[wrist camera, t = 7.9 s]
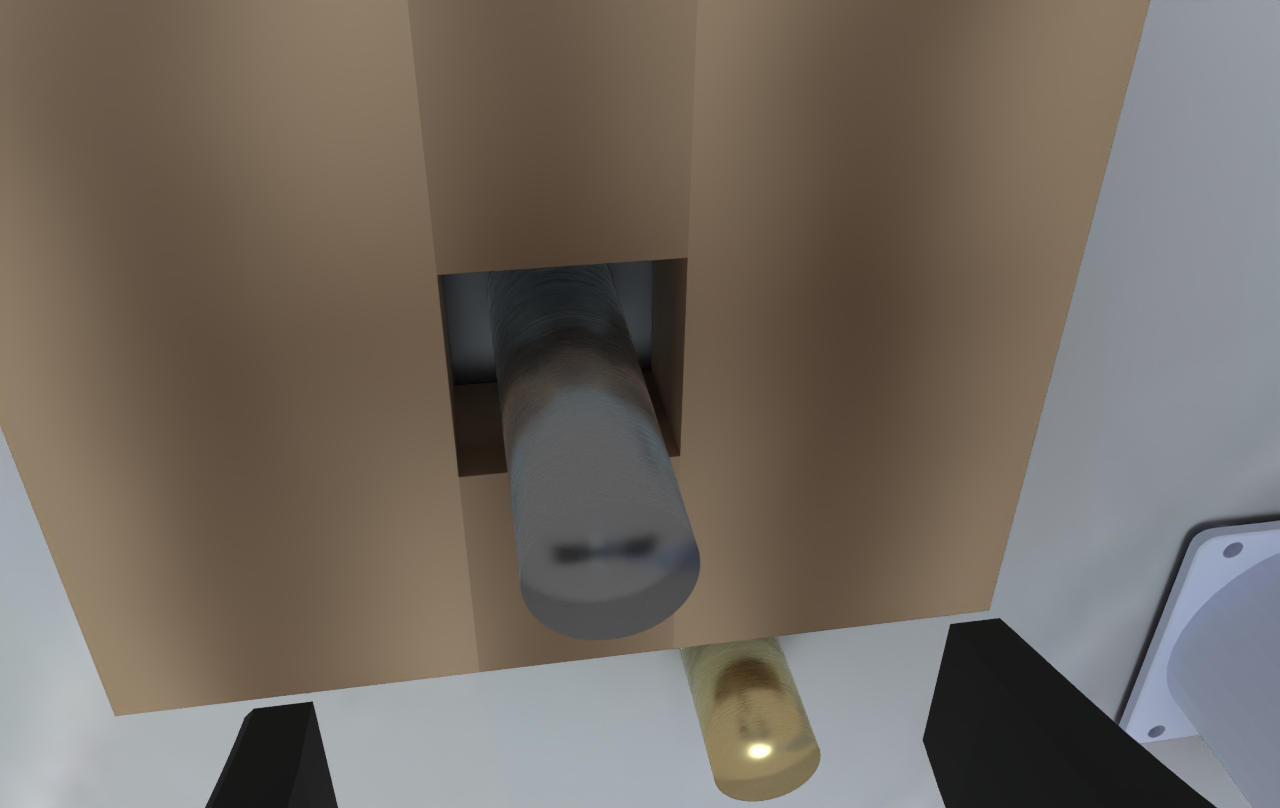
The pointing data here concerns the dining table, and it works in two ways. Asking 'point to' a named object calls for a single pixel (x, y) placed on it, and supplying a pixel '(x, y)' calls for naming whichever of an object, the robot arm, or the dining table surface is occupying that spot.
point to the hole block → (523, 239)
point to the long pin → (585, 458)
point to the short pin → (751, 718)
